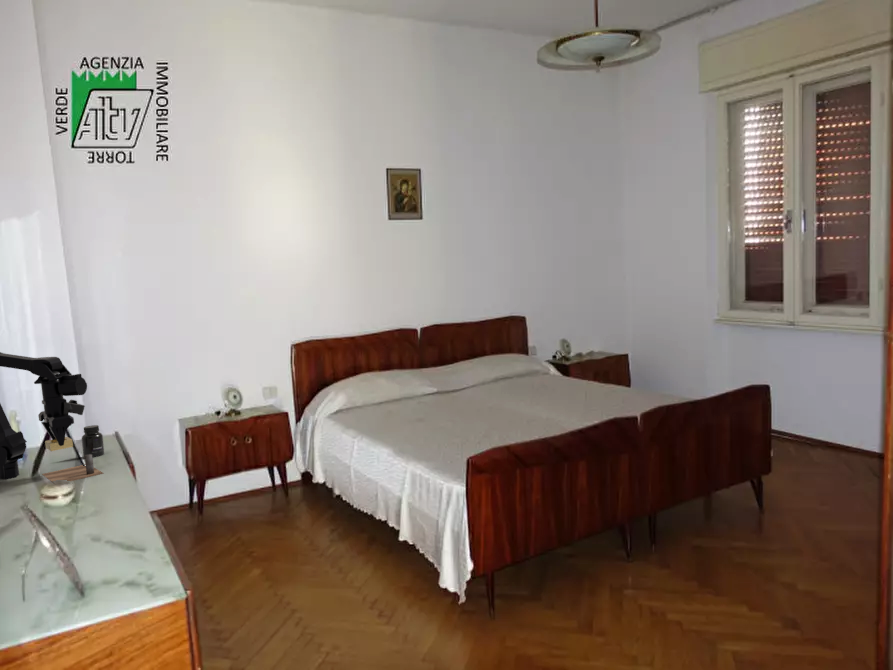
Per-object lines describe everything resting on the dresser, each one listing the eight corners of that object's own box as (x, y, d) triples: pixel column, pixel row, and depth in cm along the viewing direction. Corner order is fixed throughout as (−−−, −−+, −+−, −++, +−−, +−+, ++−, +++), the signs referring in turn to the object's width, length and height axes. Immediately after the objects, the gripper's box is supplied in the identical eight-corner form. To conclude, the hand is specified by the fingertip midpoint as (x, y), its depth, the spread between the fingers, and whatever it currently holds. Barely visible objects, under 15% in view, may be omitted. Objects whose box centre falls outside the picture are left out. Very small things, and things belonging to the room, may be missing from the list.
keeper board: (42, 478, 229) (39, 456, 228) (88, 468, 238) (85, 446, 238) (56, 489, 216) (53, 465, 215) (104, 477, 225) (102, 455, 224)
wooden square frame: (46, 448, 226) (45, 440, 226) (67, 443, 230) (66, 436, 230) (50, 451, 221) (50, 443, 221) (73, 446, 226) (72, 439, 225)
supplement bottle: (99, 461, 246) (95, 428, 245) (80, 462, 246) (76, 429, 245) (108, 456, 253) (105, 423, 252) (90, 457, 253) (86, 424, 252)
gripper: (88, 394, 222) (94, 442, 224) (72, 389, 236) (78, 434, 238) (49, 401, 215) (55, 450, 217) (35, 395, 229) (41, 442, 231)
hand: (59, 444), depth 226 cm, fingers closed on wooden square frame, 6 cm apart
